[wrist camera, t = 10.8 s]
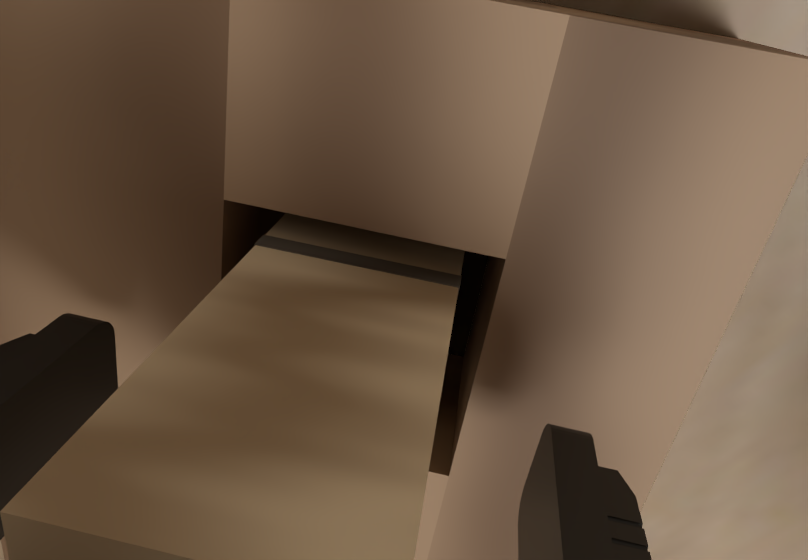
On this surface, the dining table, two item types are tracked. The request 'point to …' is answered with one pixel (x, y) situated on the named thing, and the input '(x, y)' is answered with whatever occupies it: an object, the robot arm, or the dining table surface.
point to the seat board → (412, 196)
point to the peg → (266, 415)
